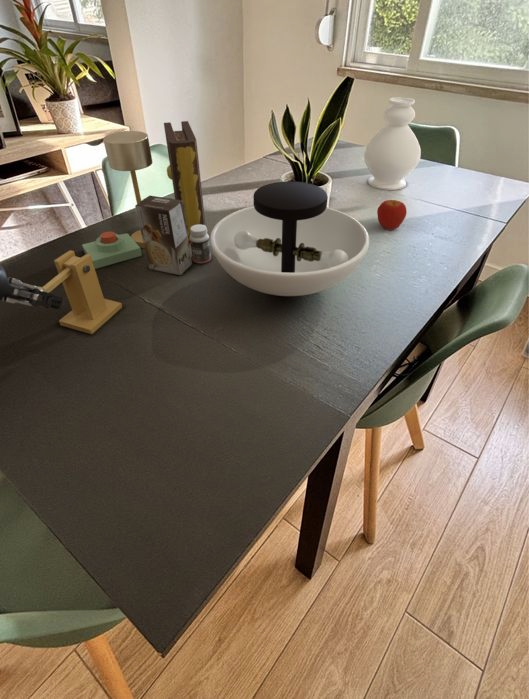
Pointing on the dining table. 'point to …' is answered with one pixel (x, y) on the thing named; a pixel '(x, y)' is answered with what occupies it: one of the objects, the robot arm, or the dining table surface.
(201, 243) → the pill bottle
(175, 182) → the book
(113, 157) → the desk lamp
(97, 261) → the green push button base
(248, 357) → the dining table surface
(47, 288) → the lamp switch
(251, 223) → the light fixture
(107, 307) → the switch bracket
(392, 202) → the apple
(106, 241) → the power button
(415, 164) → the decorative vase
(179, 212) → the coffee box
